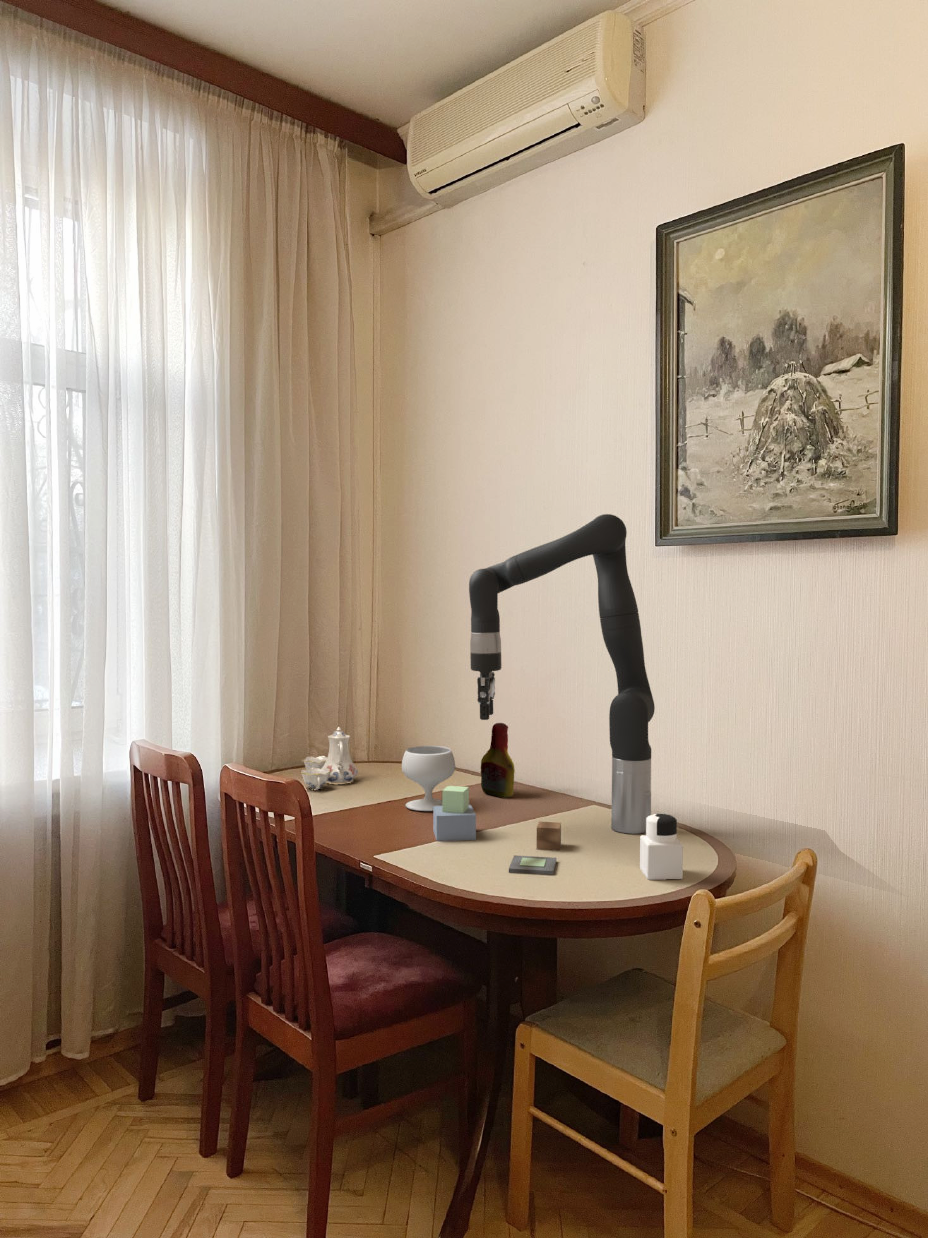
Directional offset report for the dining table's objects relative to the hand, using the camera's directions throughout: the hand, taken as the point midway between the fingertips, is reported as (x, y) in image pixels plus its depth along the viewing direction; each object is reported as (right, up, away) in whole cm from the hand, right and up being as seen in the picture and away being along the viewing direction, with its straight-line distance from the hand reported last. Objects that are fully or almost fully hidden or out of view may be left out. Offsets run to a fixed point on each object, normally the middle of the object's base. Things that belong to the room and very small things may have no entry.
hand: (486, 717), depth 227 cm
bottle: (+4, -25, +29) cm, 38 cm away
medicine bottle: (+34, -28, -38) cm, 59 cm away
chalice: (-15, -25, +16) cm, 33 cm away
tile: (+9, -28, -34) cm, 44 cm away
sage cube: (-8, -21, -10) cm, 24 cm away
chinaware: (-45, -24, +45) cm, 68 cm away
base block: (-8, -27, -10) cm, 29 cm away
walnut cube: (+13, -27, -19) cm, 36 cm away
